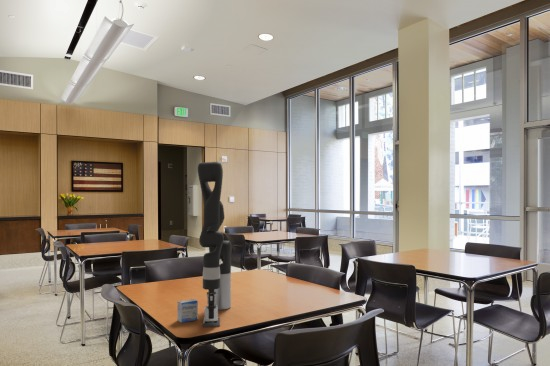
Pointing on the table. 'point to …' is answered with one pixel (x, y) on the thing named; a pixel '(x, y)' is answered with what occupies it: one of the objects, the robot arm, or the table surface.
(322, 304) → the table surface
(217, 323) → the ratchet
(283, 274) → the table surface
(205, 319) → the socket
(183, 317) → the medicine box
